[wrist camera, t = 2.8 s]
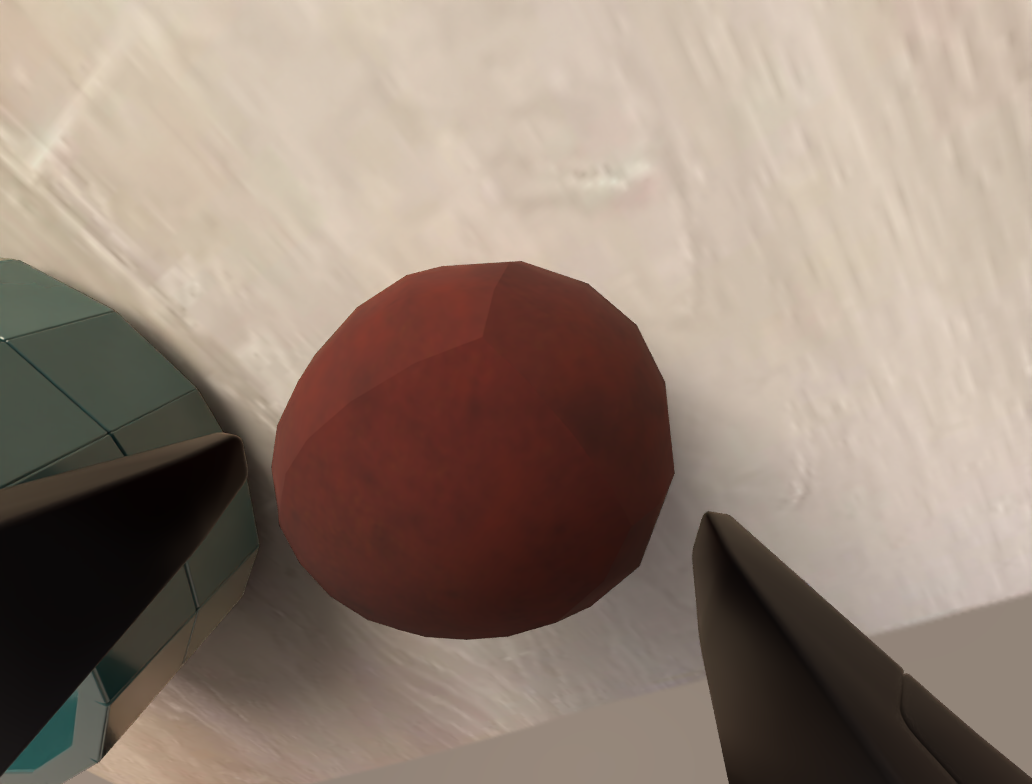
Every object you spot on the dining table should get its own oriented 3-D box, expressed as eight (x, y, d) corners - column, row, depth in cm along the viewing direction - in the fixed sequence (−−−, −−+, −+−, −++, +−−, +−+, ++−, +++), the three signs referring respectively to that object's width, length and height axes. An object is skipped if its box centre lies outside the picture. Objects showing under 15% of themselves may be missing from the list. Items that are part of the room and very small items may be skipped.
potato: (310, 383, 14) (62, 554, 7) (532, 169, 11) (429, 151, 4) (479, 553, 15) (393, 814, 9) (719, 410, 12) (845, 659, 6)
